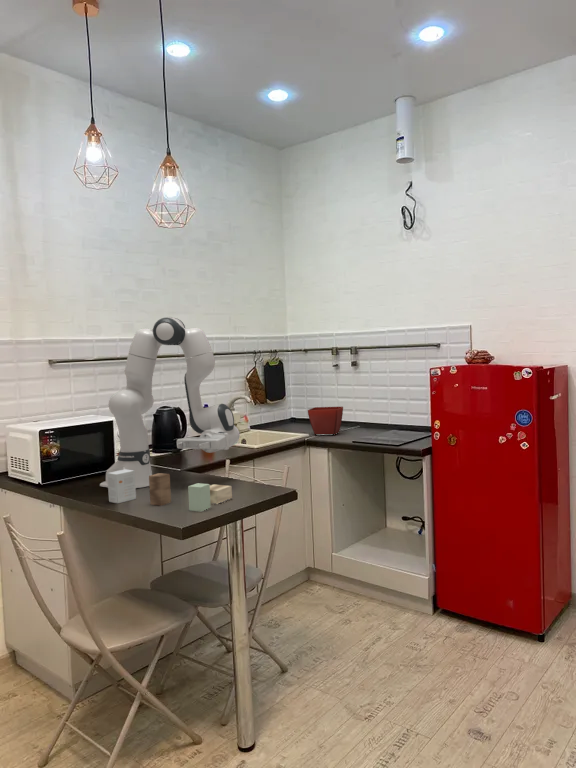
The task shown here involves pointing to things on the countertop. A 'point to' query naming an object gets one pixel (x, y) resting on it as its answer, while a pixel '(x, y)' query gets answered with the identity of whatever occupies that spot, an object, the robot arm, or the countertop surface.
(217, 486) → the beech block
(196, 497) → the sage green block
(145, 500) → the countertop surface
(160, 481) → the walnut block
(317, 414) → the plant pot
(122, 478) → the small box
